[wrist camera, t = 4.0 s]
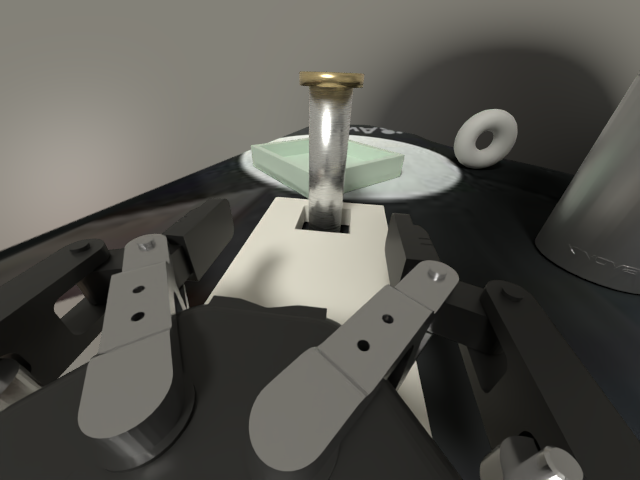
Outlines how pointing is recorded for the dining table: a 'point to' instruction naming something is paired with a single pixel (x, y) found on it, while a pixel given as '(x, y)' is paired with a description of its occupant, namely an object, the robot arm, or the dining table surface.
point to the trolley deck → (317, 269)
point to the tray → (293, 164)
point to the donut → (500, 146)
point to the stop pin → (328, 144)
